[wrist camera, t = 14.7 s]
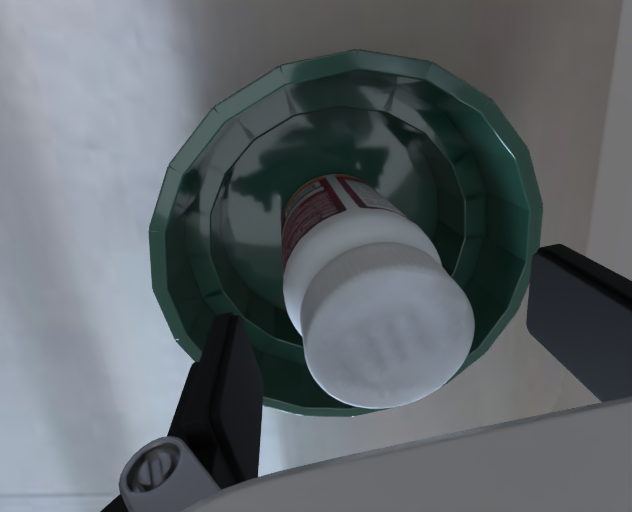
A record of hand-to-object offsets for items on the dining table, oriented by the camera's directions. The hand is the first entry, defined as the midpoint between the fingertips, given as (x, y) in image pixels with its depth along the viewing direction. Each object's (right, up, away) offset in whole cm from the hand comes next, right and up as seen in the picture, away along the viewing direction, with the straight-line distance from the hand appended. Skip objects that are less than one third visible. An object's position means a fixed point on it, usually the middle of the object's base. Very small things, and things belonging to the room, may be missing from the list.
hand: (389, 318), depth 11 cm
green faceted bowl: (-1, +4, +10) cm, 11 cm away
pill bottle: (-1, +4, +10) cm, 10 cm away
